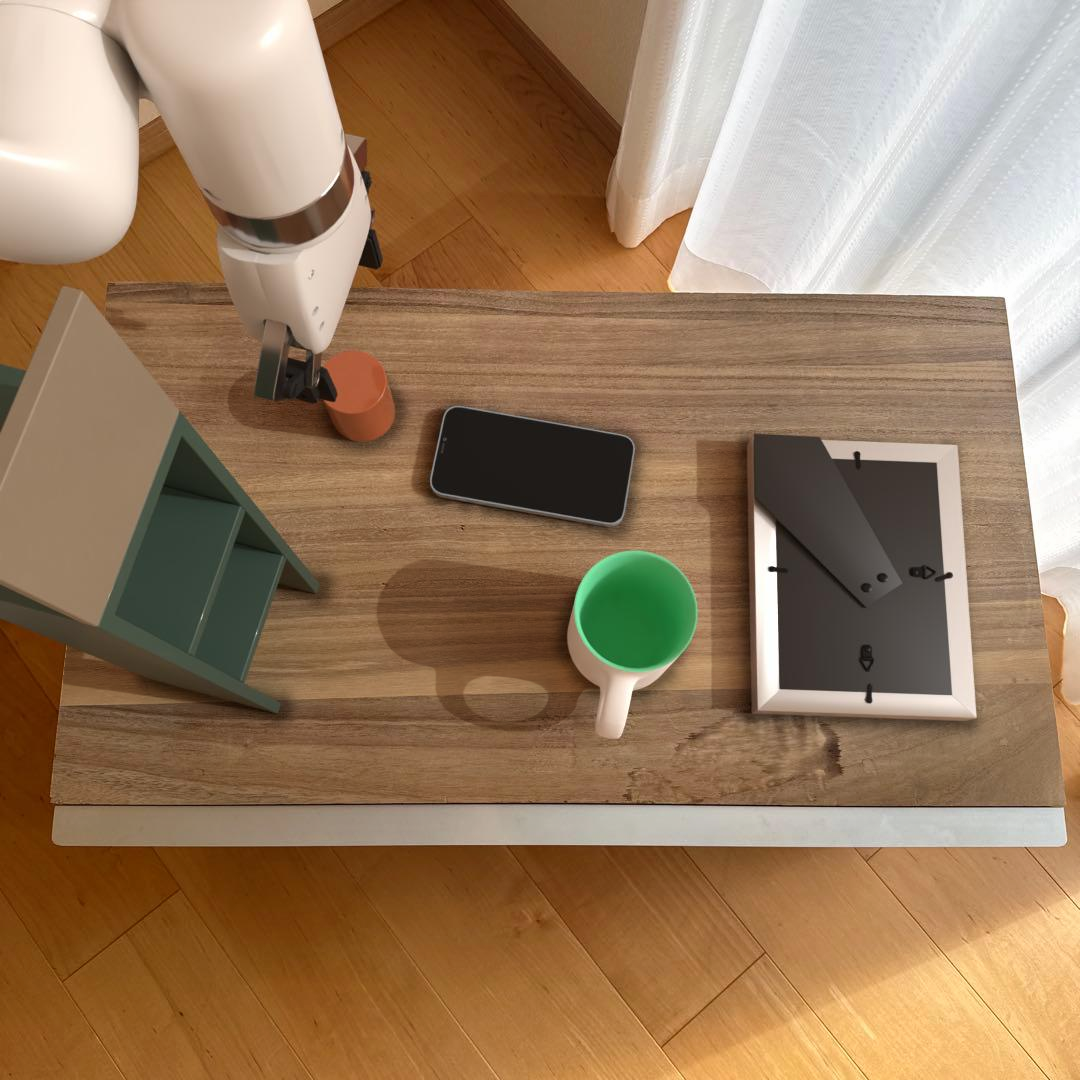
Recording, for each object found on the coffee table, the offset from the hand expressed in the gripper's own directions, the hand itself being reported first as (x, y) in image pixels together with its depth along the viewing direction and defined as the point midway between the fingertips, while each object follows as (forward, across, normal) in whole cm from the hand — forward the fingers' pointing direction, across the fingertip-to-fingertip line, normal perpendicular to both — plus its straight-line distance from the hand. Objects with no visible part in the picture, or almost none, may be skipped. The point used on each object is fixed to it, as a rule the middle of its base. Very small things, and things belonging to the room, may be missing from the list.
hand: (336, 325), depth 71 cm
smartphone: (+15, +1, +14) cm, 20 cm away
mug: (+16, +14, +23) cm, 31 cm away
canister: (+15, 0, 0) cm, 15 cm away
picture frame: (+16, +3, +39) cm, 42 cm away
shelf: (+15, +19, -4) cm, 25 cm away
